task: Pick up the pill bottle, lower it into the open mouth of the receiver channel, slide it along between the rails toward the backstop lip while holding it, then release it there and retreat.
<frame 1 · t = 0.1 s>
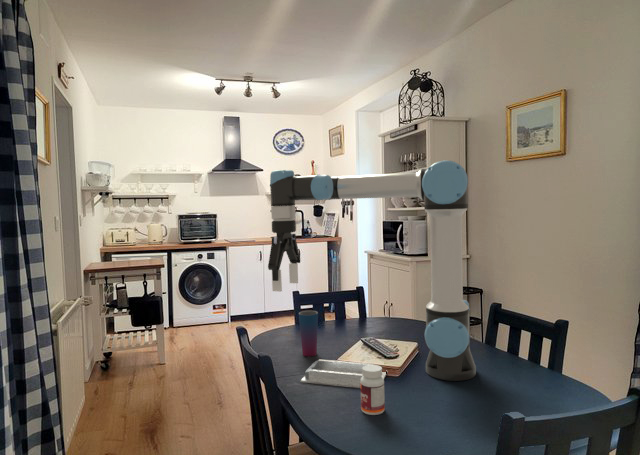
hand: (285, 287, 147), 28 cm above the table, fingers open, 13 cm apart
cup: (309, 354, 167), on the table
pill bottle: (372, 411, 121), on the table
receiver: (344, 377, 144), on the table
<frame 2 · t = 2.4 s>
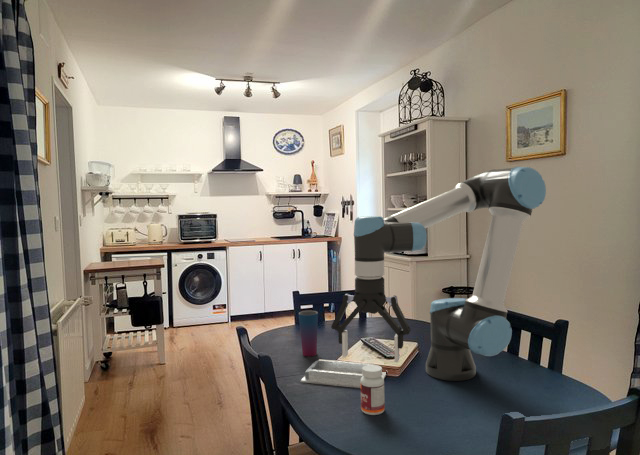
hand: (370, 358, 120), 14 cm above the table, fingers open, 13 cm apart
nothing on the table moved.
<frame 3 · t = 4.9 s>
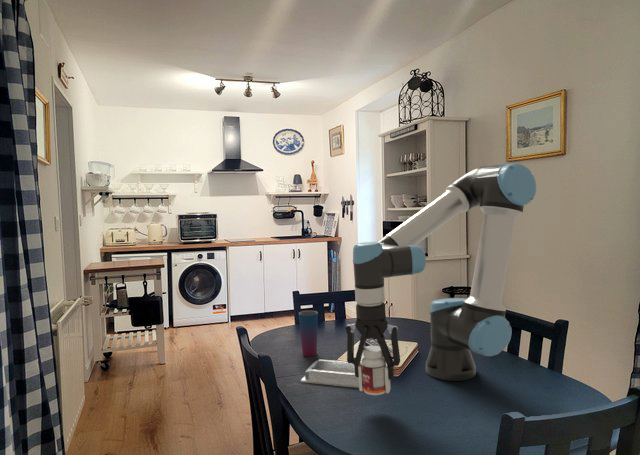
hand: (375, 389, 121), 5 cm above the table, fingers closed on pill bottle, 6 cm apart
pill bottle: (375, 391, 121), point 5 cm above the table, touching gripper
everything else where it was.
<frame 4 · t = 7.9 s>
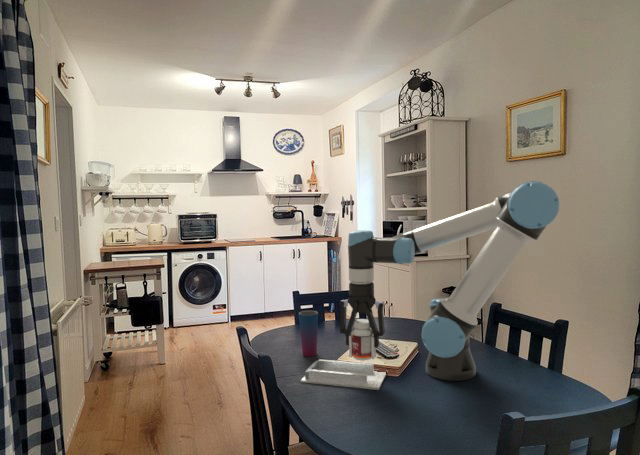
hand: (362, 356, 142), 7 cm above the table, fingers closed on pill bottle, 6 cm apart
pill bottle: (362, 358, 142), point 6 cm above the table, touching gripper
everything else where it was.
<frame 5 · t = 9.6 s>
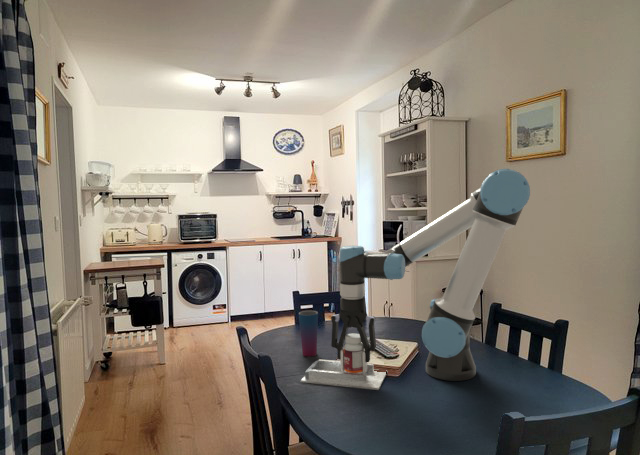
hand: (354, 370, 143), 2 cm above the table, fingers closed on pill bottle, 6 cm apart
pill bottle: (354, 372, 143), point 2 cm above the table, touching gripper
everything else where it was.
when the fingers open (2 cm above the table, at t = 11.1 s): pill bottle drops 1 cm, resting on receiver.
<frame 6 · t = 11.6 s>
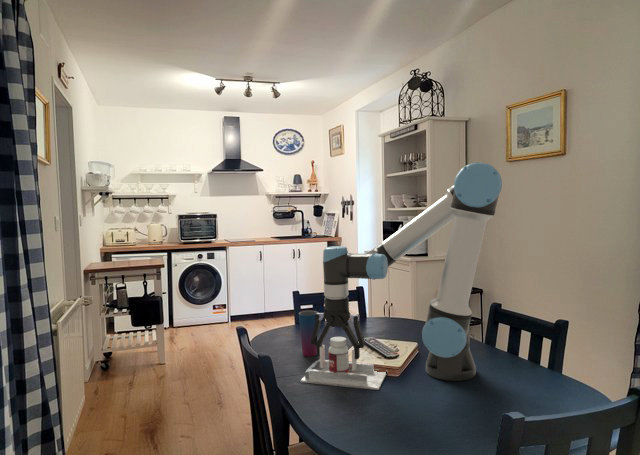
hand: (338, 367, 144), 3 cm above the table, fingers open, 10 cm apart
pill bottle: (339, 375, 145), resting on receiver
everything else where it was.
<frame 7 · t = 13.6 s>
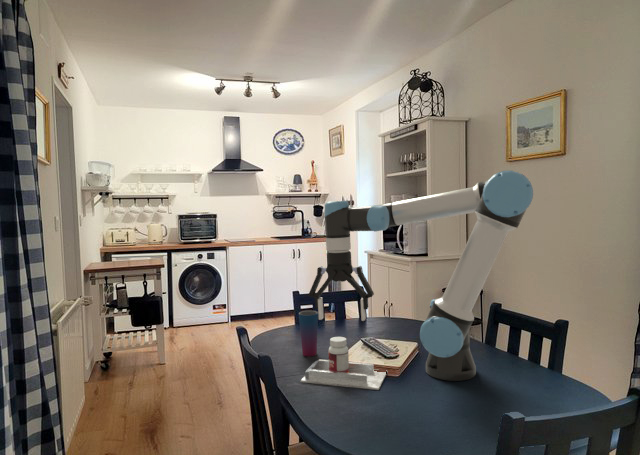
hand: (342, 319, 144), 18 cm above the table, fingers open, 13 cm apart
nothing on the table moved.
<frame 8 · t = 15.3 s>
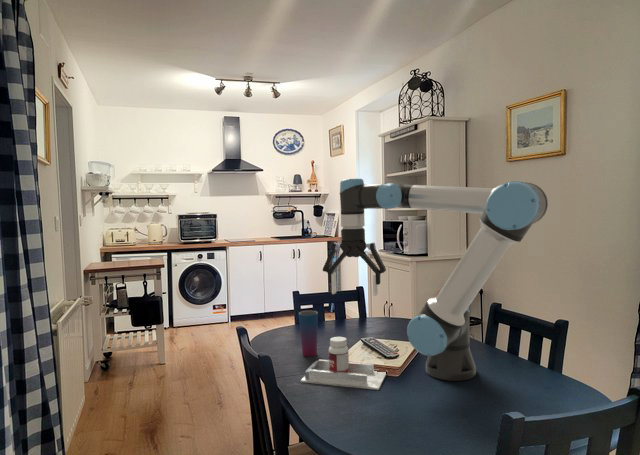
hand: (354, 294, 148), 25 cm above the table, fingers open, 13 cm apart
nothing on the table moved.
at the end: pill bottle inside the target area on the receiver (2.6 cm from its centre), point 0.4 cm above the receiver's base; pill bottle tilted 0°; the gripper is holding nothing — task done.
